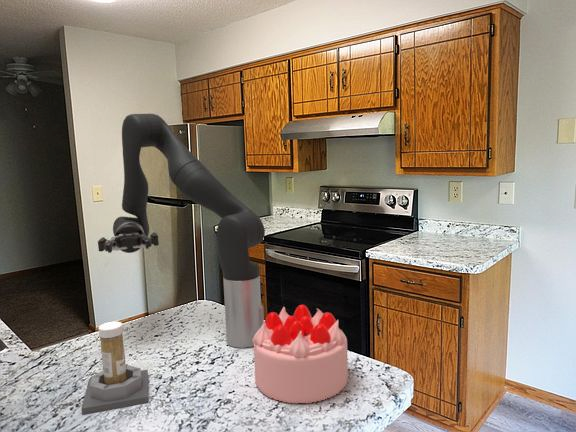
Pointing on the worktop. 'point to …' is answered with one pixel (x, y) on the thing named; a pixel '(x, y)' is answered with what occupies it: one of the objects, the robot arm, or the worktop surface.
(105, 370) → the sprinkles bottle
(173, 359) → the worktop surface
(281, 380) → the cake
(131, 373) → the barrel socket
